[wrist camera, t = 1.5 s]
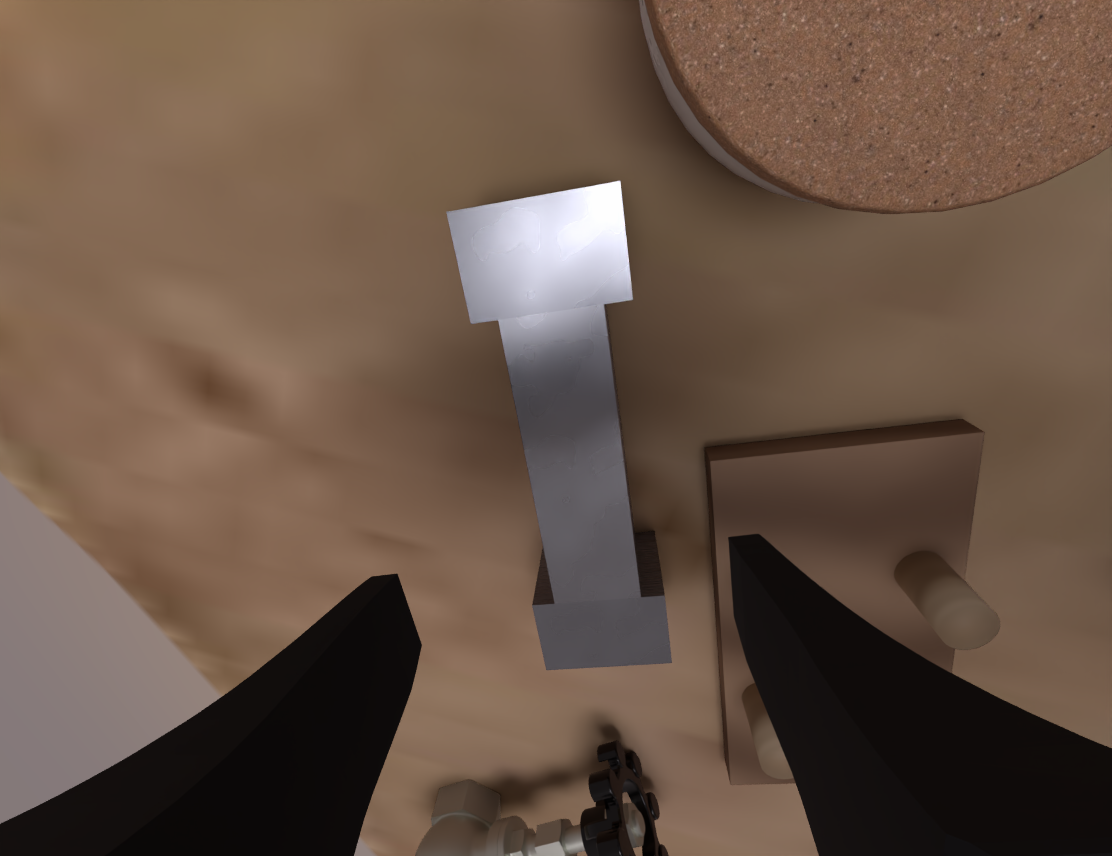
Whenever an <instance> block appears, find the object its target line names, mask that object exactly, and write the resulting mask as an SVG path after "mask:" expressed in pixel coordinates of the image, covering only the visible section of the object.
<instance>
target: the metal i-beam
mask: <svg viewBox="0 0 1112 856" xmlns="http://www.w3.org/2000/svg"><path fill="white" fill-rule="evenodd" d="M447 217H448V221H449V226H450V230H451V235H452V239H453V244H454V249H455V253H456V258H457V262H458V267H459V272H460V276H461V281H462V285H463V290H464V295H465V299H466V304H467V308H468V313H469V317H470V322H471V324H475V323H481V322H488V321H495V320H498V322H499V327H500V332H501V337H502V342H503V347H504V352H505V357H506V362H507V367H508V372H509V377H510V382H511V387H512V392H513V397H514V402H515V407H516V412H517V417H518V422H519V427H520V432H521V437H522V442H523V447H524V452H525V457H526V462H527V467H528V472H529V477H530V482H531V487H532V492H533V497H534V502H535V507H536V513H537V518H538V523H539V528H540V533H541V538H542V543H543V549H542V555H541V560H540V566H539V571H538V577H537V582H536V588H535V593H534V599H533V604H532V606H533V611H534V616H535V620H536V625H537V629H538V634H539V639H540V643H541V648H542V652H543V657H544V661H545V666H546V670H558V669H576V668H593V667H610V666H628V665H645V664H663V663H672V660H671V650H670V641H669V632H668V622H667V613H666V604H665V595H664V588H663V582H662V576H661V569H660V563H659V556H658V550H657V544H656V537H655V531H648V532H637V533H635V530H634V522H633V514H632V506H631V498H630V490H629V482H628V474H627V466H626V458H625V450H624V442H623V434H622V426H621V418H620V410H619V402H618V394H617V386H616V378H615V370H614V362H613V354H612V346H611V338H610V330H609V322H608V314H607V306H606V304H609V303H616V302H623V301H629V300H633V296H632V286H631V277H630V268H629V258H628V249H627V240H626V230H625V221H624V212H623V202H622V193H621V184H620V181H617V182H611V183H606V184H600V185H595V186H589V187H584V188H578V189H572V190H567V191H561V192H556V193H550V194H544V195H539V196H533V197H528V198H522V199H517V200H511V201H505V202H500V203H494V204H489V205H483V206H478V207H472V208H466V209H461V210H455V211H450V212H447Z"/></svg>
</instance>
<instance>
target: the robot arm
mask: <svg viewBox="0 0 1112 856" xmlns="http://www.w3.org/2000/svg"><path fill="white" fill-rule="evenodd" d="M728 541H729V556H730V570H731V585H732V599H733V613H734V619H735V623H736V626H737V630H738V633H739V637H740V641H741V644H742V648H743V651H744V655H745V658H746V661H747V664H748V667H749V669H750V672H751V674H752V677H753V679H754V682H755V684H756V686H757V689H758V691H759V694H760V696H761V699H762V701H763V704H764V706H765V709H766V711H767V713H768V716H769V718H770V721H771V723H772V726H773V728H774V730H775V733H776V735H777V738H778V740H779V743H780V745H781V747H782V750H783V752H784V755H785V757H786V760H787V762H788V764H789V767H790V769H791V772H792V775H793V777H794V780H795V783H796V785H797V788H798V791H799V794H800V796H801V799H802V803H803V806H804V809H805V812H806V815H807V819H808V822H809V825H810V828H811V831H812V835H813V838H814V841H815V844H816V847H817V851H818V854H819V856H1112V748H1109V747H1107V746H1104V745H1102V744H1099V743H1097V742H1094V741H1092V740H1090V739H1087V738H1085V737H1083V736H1080V735H1078V734H1076V733H1074V732H1071V731H1069V730H1067V729H1065V728H1062V727H1060V726H1058V725H1056V724H1054V723H1051V722H1049V721H1047V720H1045V719H1042V718H1040V717H1038V716H1036V715H1033V714H1031V713H1029V712H1027V711H1025V710H1023V709H1021V708H1019V707H1017V706H1015V705H1012V704H1010V703H1008V702H1006V701H1004V700H1002V699H1000V698H998V697H996V696H994V695H992V694H990V693H988V692H986V691H984V690H983V689H981V688H979V687H977V686H975V685H973V684H971V683H969V682H967V681H965V680H963V679H961V678H960V677H958V676H956V675H954V674H952V673H950V672H948V671H947V670H945V669H943V668H941V667H939V666H938V665H936V664H934V663H932V662H931V661H929V660H927V659H925V658H924V657H922V656H921V655H919V654H917V653H916V652H914V651H912V650H911V649H909V648H907V647H906V646H904V645H902V644H901V643H899V642H898V641H896V640H894V639H893V638H891V637H889V636H888V635H886V634H885V633H883V632H882V631H880V630H879V629H877V628H876V627H874V626H873V625H871V624H870V623H869V622H867V621H866V620H864V619H863V618H862V617H860V616H859V615H857V614H856V613H854V612H853V611H852V610H850V609H849V608H848V607H846V606H845V605H844V604H842V603H841V602H840V601H838V600H837V599H836V598H835V597H833V596H832V595H831V594H830V593H828V592H827V591H826V590H825V589H823V588H822V587H821V586H819V585H818V584H817V583H816V582H814V581H813V580H812V579H811V578H810V577H808V576H807V575H806V574H805V573H804V572H802V571H801V570H800V569H799V568H798V567H797V566H795V565H794V564H793V563H792V562H791V561H790V560H788V559H787V558H786V557H785V556H784V555H783V554H782V553H781V552H779V551H778V550H777V549H776V548H775V547H774V546H773V545H772V544H771V543H769V542H768V541H767V540H766V539H765V538H764V537H762V536H761V535H760V534H751V535H742V536H732V537H728ZM421 646H422V644H421V641H420V638H419V635H418V632H417V630H416V627H415V624H414V621H413V618H412V615H411V612H410V609H409V606H408V603H407V600H406V597H405V594H404V592H403V589H402V586H401V583H400V580H399V577H398V574H390V575H381V576H372V577H370V578H369V579H368V580H366V581H365V582H364V583H362V584H361V585H360V586H358V587H357V588H356V589H355V590H354V591H352V592H351V593H350V594H349V595H348V596H346V597H345V598H344V599H343V600H342V601H341V602H339V603H338V604H337V605H336V606H335V607H334V608H332V609H331V610H330V611H329V612H328V613H327V614H325V615H324V616H323V617H322V618H321V619H319V620H318V621H317V622H316V623H315V624H314V625H312V626H311V627H310V628H309V629H308V630H307V631H305V632H304V633H303V634H302V635H301V636H300V637H298V638H297V639H296V640H295V641H294V642H292V643H291V644H290V645H289V646H287V647H286V648H285V649H284V650H282V651H281V652H280V653H279V654H277V655H276V656H275V657H274V658H272V659H271V660H270V661H269V662H267V663H266V664H265V665H264V666H262V667H261V668H260V669H259V670H257V671H256V672H255V673H253V674H252V675H251V676H250V677H248V678H247V679H246V680H244V681H243V682H242V683H240V684H239V685H238V686H236V687H235V688H233V689H232V690H231V691H229V692H228V693H227V694H225V695H224V696H222V697H221V698H219V699H218V700H217V701H215V702H214V703H212V704H211V705H209V706H208V707H206V708H205V709H204V710H202V711H201V712H199V713H198V714H196V715H195V716H193V717H192V718H190V719H189V720H187V721H186V722H184V723H182V724H181V725H179V726H178V727H176V728H174V729H173V730H171V731H170V732H168V733H166V734H165V735H163V736H161V737H160V738H158V739H157V740H155V741H153V742H152V743H150V744H149V745H147V746H145V747H144V748H142V749H140V750H139V751H137V752H136V753H134V754H132V755H131V756H129V757H127V758H125V759H124V760H122V761H120V762H119V763H117V764H115V765H113V766H111V767H110V768H108V769H106V770H104V771H102V772H101V773H99V774H97V775H95V776H94V777H92V778H90V779H88V780H86V781H84V782H82V783H81V784H79V785H77V786H75V787H73V788H71V789H69V790H67V791H65V792H64V793H62V794H60V795H58V796H56V797H54V798H52V799H50V800H48V801H46V802H44V803H42V804H40V805H38V806H36V807H34V808H32V809H30V810H28V811H26V812H24V813H22V814H20V815H18V816H16V817H14V818H12V819H9V820H8V821H5V822H3V823H1V824H0V856H354V853H355V850H356V846H357V843H358V839H359V835H360V832H361V828H362V824H363V821H364V818H365V815H366V812H367V809H368V806H369V803H370V800H371V797H372V794H373V791H374V789H375V786H376V784H377V781H378V778H379V776H380V773H381V770H382V768H383V765H384V762H385V760H386V757H387V754H388V752H389V749H390V747H391V744H392V741H393V739H394V736H395V733H396V731H397V728H398V725H399V723H400V720H401V717H402V715H403V712H404V709H405V706H406V704H407V701H408V698H409V695H410V692H411V690H412V686H413V682H414V678H415V674H416V670H417V665H418V660H419V656H420V651H421Z"/></svg>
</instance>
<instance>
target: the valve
mask: <svg viewBox="0 0 1112 856" xmlns="http://www.w3.org/2000/svg"><path fill="white" fill-rule="evenodd" d="M597 755H598V761H599V762H602V761H606V760H608V762H609V765H610V769H607V770H603V771H599V772H596V773H592V774H590V776H589V790H590V794H591V797H592V799H593V801H594V802H596V807H592V808H588V809H585V810H584V811H583V812H582V815H581V821H580V824H579V825H575V826H573V825H572V823H571V822H570V820H569V819H559V820H555V821H551V822H548V823H544V824H540V825H537V831H536V833H535V831H534V830H533V829H528V827H527V825H526V823H525V822H524V821H523V820H522V819H521V818H520V817H518V816H510V817H507V818H503V819H500V795H499V794H498V793H497V792H495V791H493V790H491V789H489V788H487V787H485V786H483V785H480V784H478V783H476V782H474V781H472V780H465V781H461V782H458V783H454V784H451V785H448V786H444V787H442V788H440V789H439V792H438V796H437V800H436V803H435V807H434V810H433V814H432V817H431V820H432V827H431V828H430V829H429V831H428V832H427V833H426V835H425V836H424V838H423V839H422V841H421V843H420V845H419V847H418V849H417V852H416V854H415V856H577V853H578V852H582V851H586V854H587V856H636V855H635V853H634V850H633V848H635V847H639V846H642V853H643V856H669V855H668V852H667V850H666V848H665V846H664V845H662V844H661V845H660V843H659V841H658V838H657V833H656V828H655V822H654V820H657V819H658V818H659V815H660V812H659V806H658V802H657V799H656V797H655V795H654V794H653V793H652V792H649V793H645V792H644V790H643V787H642V785H641V781H640V777H641V775H642V768H641V763H640V760H639V758H638V756H637V755H636V753H635V752H629V753H626V754H625V753H624V750H623V747H622V745H621V743H620V742H619V741H617V740H616V741H613V742H609V743H606V744H602V745H599V746H598V749H597ZM624 792H627V793H628V795H629V797H630V799H631V801H632V803H624V804H623V800H622V793H624Z"/></svg>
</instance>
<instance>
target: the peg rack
mask: <svg viewBox="0 0 1112 856" xmlns="http://www.w3.org/2000/svg"><path fill="white" fill-rule="evenodd" d="M984 434H985V432H984V431H982V430H980V429H979V428H977V427H975V426H974V425H972V424H970V423H968V422H967V421H965V420H963V419H960V420H951V421H942V422H933V423H923V424H914V425H905V426H896V427H887V428H878V429H869V430H860V431H851V432H842V433H833V434H824V435H814V436H805V437H796V438H787V439H778V440H769V441H760V442H751V443H742V444H733V445H724V446H715V447H706V448H705V461H706V476H707V491H708V506H709V521H710V536H711V552H712V567H713V582H714V597H715V612H716V627H717V642H718V657H719V672H720V688H721V703H722V718H723V733H724V748H725V762H726V766H727V771H728V775H729V780H730V784H731V785H752V784H788V783H795V780H794V777H793V775H792V772H791V769H790V767H789V764H788V762H787V760H786V757H785V755H784V752H783V750H782V747H781V745H780V743H779V740H778V738H777V735H776V733H775V730H774V728H773V726H772V723H771V721H770V718H769V716H768V713H767V711H766V709H765V706H764V704H763V701H762V699H761V696H760V694H759V691H758V689H757V686H756V684H755V682H754V679H753V677H752V674H751V672H750V669H749V667H748V664H747V661H746V658H745V655H744V651H743V648H742V644H741V641H740V637H739V633H738V630H737V626H736V623H735V619H734V613H733V599H732V585H731V570H730V556H729V541H728V537H732V536H742V535H751V534H760V535H761V536H762V537H764V538H765V539H766V540H767V541H768V542H769V543H771V544H772V545H773V546H774V547H775V548H776V549H777V550H778V551H779V552H781V553H782V554H783V555H784V556H785V557H786V558H787V559H788V560H790V561H791V562H792V563H793V564H794V565H795V566H797V567H798V568H799V569H800V570H801V571H802V572H804V573H805V574H806V575H807V576H808V577H810V578H811V579H812V580H813V581H814V582H816V583H817V584H818V585H819V586H821V587H822V588H823V589H825V590H826V591H827V592H828V593H830V594H831V595H832V596H833V597H835V598H836V599H837V600H838V601H840V602H841V603H842V604H844V605H845V606H846V607H848V608H849V609H850V610H852V611H853V612H854V613H856V614H857V615H859V616H860V617H862V618H863V619H864V620H866V621H867V622H869V623H870V624H871V625H873V626H874V627H876V628H877V629H879V630H880V631H882V632H883V633H885V634H886V635H888V636H889V637H891V638H893V639H894V640H896V641H898V642H899V643H901V644H902V645H904V646H906V647H907V648H909V649H911V650H912V651H914V652H916V653H917V654H919V655H921V656H922V657H924V658H925V659H927V660H929V661H931V662H932V663H934V664H936V665H938V666H939V667H941V668H943V669H945V670H947V671H948V672H950V673H952V665H953V658H954V651H955V649H960V650H969V649H975V648H978V647H981V646H983V645H985V644H987V643H988V642H990V641H991V640H992V639H993V638H994V637H995V636H996V635H997V633H998V631H999V629H1000V619H999V617H998V615H997V614H996V613H995V612H994V611H993V610H992V609H991V608H990V607H989V606H988V605H987V603H986V602H985V601H984V600H983V599H982V598H981V597H980V596H979V595H978V594H977V593H976V592H975V591H974V590H973V589H972V588H971V587H970V586H969V585H968V584H967V583H966V582H965V581H964V579H965V571H966V564H967V557H968V550H969V542H970V535H971V528H972V521H973V513H974V506H975V499H976V492H977V484H978V477H979V470H980V463H981V455H982V448H983V441H984Z"/></svg>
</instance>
